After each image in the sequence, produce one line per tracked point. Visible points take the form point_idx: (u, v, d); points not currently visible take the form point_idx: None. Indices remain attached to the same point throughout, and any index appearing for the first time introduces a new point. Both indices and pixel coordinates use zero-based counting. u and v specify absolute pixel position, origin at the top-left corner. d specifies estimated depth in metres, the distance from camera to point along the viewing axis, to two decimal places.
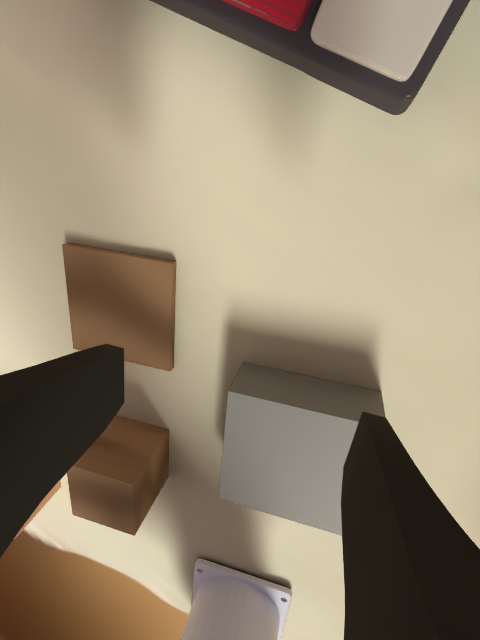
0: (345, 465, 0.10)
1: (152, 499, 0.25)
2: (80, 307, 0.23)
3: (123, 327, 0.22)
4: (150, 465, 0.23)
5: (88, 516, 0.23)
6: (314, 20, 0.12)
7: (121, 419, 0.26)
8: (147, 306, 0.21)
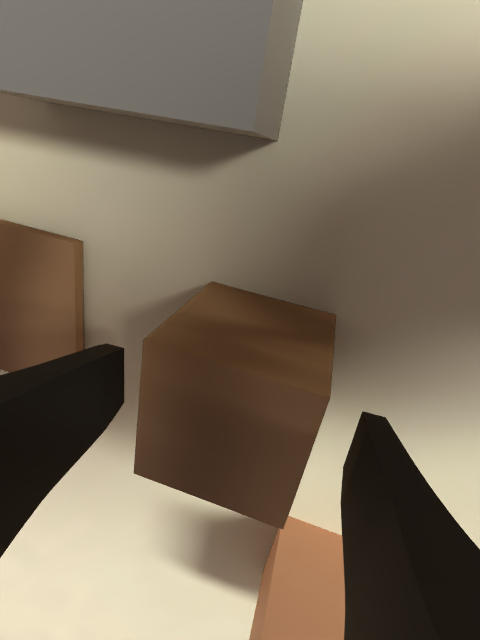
0: (345, 465, 0.10)
1: (316, 343, 0.10)
2: (17, 360, 0.16)
3: (25, 305, 0.15)
4: (200, 314, 0.10)
5: (280, 494, 0.09)
6: None
7: None
8: None
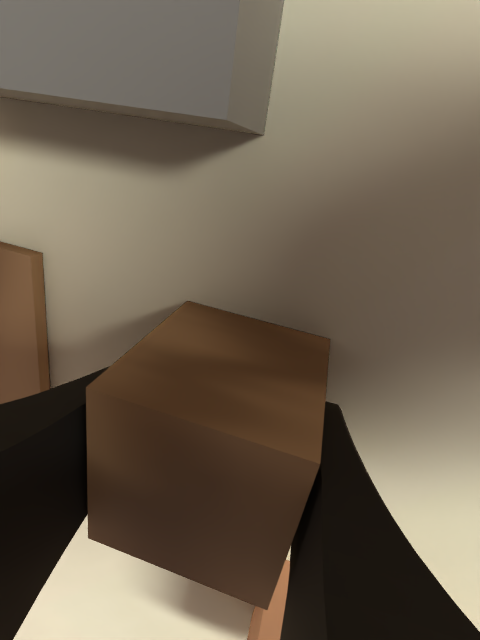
0: None
1: (305, 381, 0.08)
2: None
3: None
4: (165, 347, 0.09)
5: (262, 572, 0.08)
6: None
7: None
8: None
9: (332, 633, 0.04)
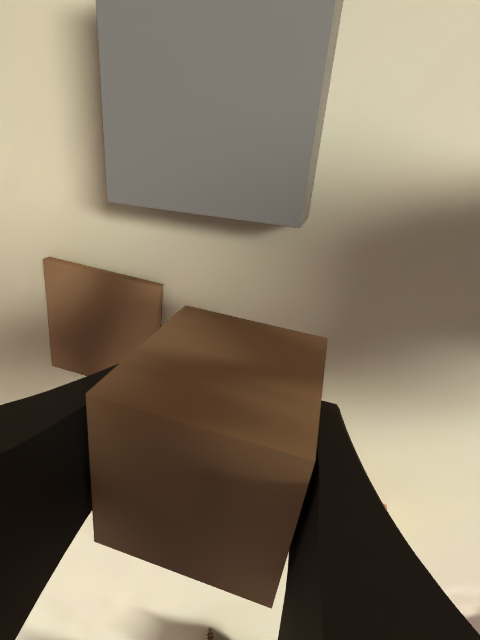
0: None
1: (302, 380, 0.08)
2: None
3: (117, 330, 0.21)
4: (164, 351, 0.09)
5: (264, 569, 0.08)
6: None
7: None
8: (89, 296, 0.20)
9: (329, 632, 0.04)
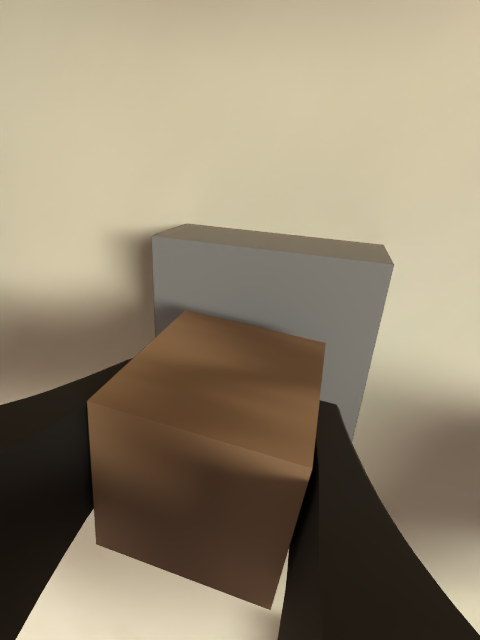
0: None
1: (300, 386, 0.09)
2: None
3: None
4: (164, 357, 0.09)
5: (263, 572, 0.08)
6: None
7: None
8: None
9: (328, 631, 0.04)
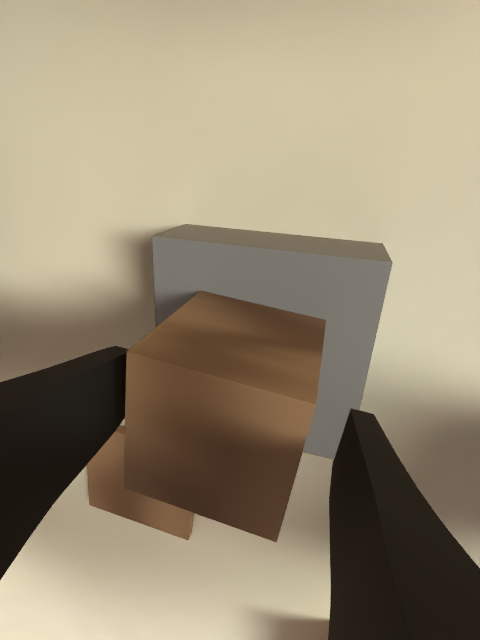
0: (334, 462, 0.10)
1: (304, 349, 0.10)
2: (143, 515, 0.23)
3: None
4: (186, 324, 0.10)
5: (271, 505, 0.09)
6: None
7: None
8: None
9: None
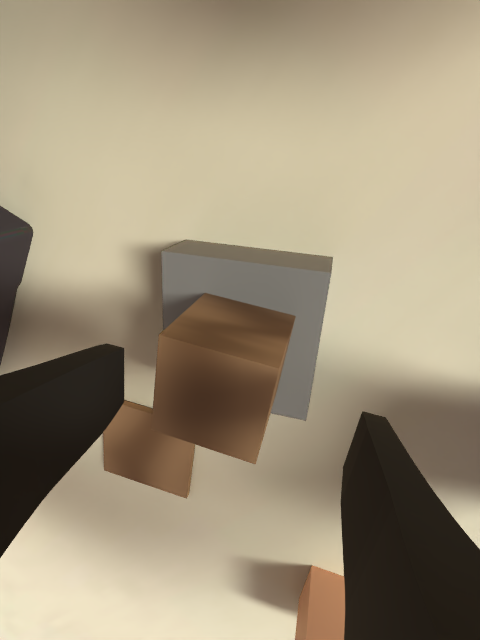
0: (345, 465, 0.10)
1: (277, 336, 0.15)
2: (149, 477, 0.28)
3: (160, 451, 0.26)
4: (196, 317, 0.15)
5: (252, 438, 0.14)
6: None
7: None
8: (139, 427, 0.26)
9: None
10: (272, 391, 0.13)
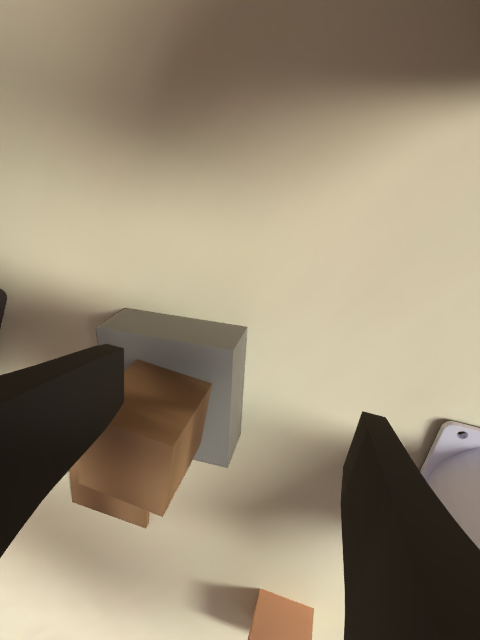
0: (345, 465, 0.10)
1: (185, 409, 0.17)
2: (112, 509, 0.30)
3: None
4: None
5: (157, 496, 0.17)
6: None
7: None
8: None
9: None
10: (169, 463, 0.16)
